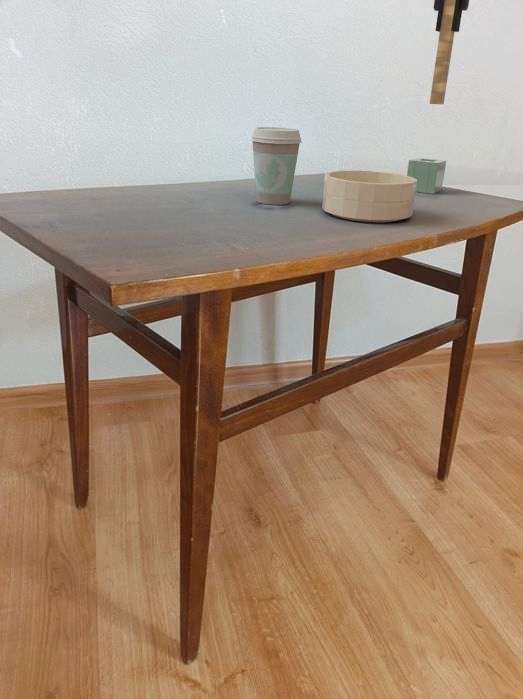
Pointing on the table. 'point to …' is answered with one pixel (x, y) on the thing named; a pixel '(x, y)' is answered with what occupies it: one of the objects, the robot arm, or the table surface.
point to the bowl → (369, 195)
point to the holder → (427, 174)
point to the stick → (443, 54)
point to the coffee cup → (275, 163)
